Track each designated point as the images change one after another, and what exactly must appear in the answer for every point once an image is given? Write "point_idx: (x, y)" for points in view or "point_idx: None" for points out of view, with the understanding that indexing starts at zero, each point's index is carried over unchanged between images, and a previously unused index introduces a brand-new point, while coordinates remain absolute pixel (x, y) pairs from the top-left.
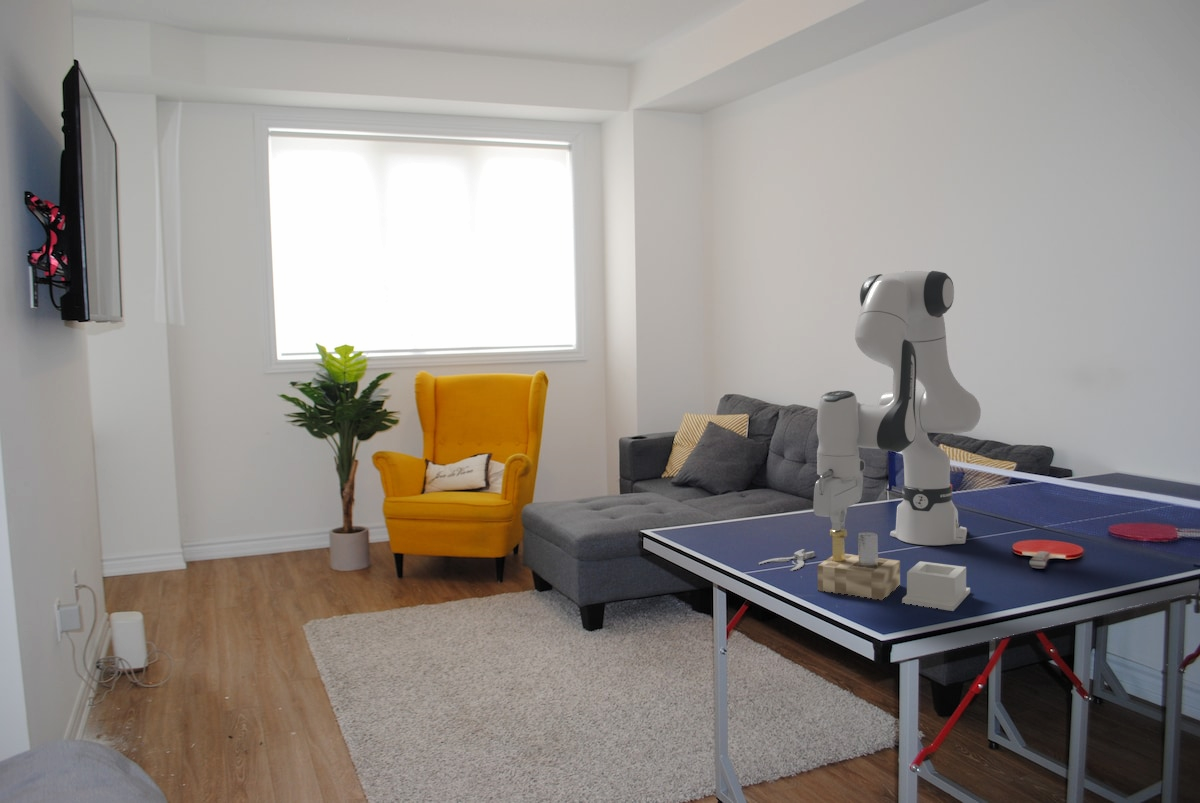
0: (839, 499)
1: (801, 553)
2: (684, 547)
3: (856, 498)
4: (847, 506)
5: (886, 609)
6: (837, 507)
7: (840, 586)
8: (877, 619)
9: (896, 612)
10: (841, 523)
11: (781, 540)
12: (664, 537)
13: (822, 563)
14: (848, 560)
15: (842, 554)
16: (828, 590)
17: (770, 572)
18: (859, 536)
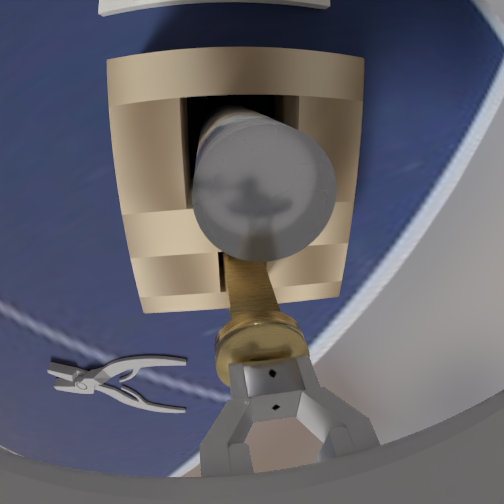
0: (469, 496)
1: (81, 384)
2: (174, 474)
3: (51, 497)
4: (268, 481)
5: (392, 43)
6: (483, 438)
7: None
8: (457, 60)
9: (401, 19)
10: (290, 384)
11: (32, 417)
12: None
13: (309, 295)
14: None
15: (254, 270)
16: None
17: (220, 381)
18: (313, 235)
